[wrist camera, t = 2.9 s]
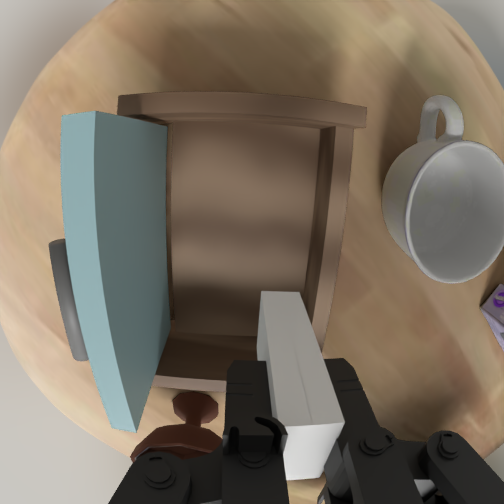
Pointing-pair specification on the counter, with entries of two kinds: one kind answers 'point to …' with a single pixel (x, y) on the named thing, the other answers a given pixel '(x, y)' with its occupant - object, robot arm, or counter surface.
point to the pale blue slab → (114, 255)
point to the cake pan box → (495, 313)
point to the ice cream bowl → (184, 430)
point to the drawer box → (247, 217)
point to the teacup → (446, 199)
